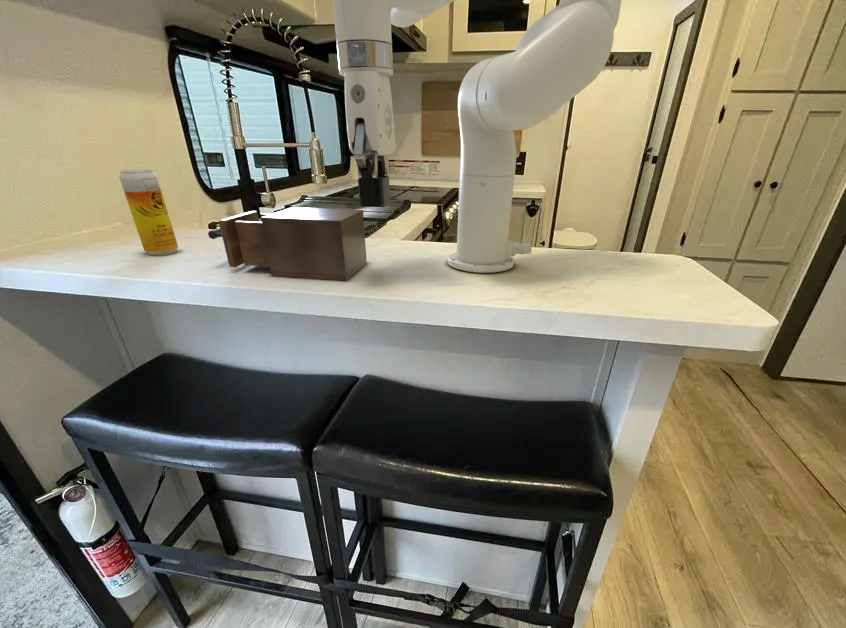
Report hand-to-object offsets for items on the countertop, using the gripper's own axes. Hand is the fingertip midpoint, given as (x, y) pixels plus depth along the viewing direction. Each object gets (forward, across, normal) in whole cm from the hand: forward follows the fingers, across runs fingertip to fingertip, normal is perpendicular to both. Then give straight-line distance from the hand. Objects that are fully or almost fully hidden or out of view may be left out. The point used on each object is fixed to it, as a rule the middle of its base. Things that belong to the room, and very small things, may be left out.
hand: (375, 202), depth 67 cm
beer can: (+11, +6, +48) cm, 50 cm away
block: (0, 0, 0) cm, 0 cm away
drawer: (+11, +2, +22) cm, 25 cm away
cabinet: (+12, +2, +12) cm, 17 cm away
